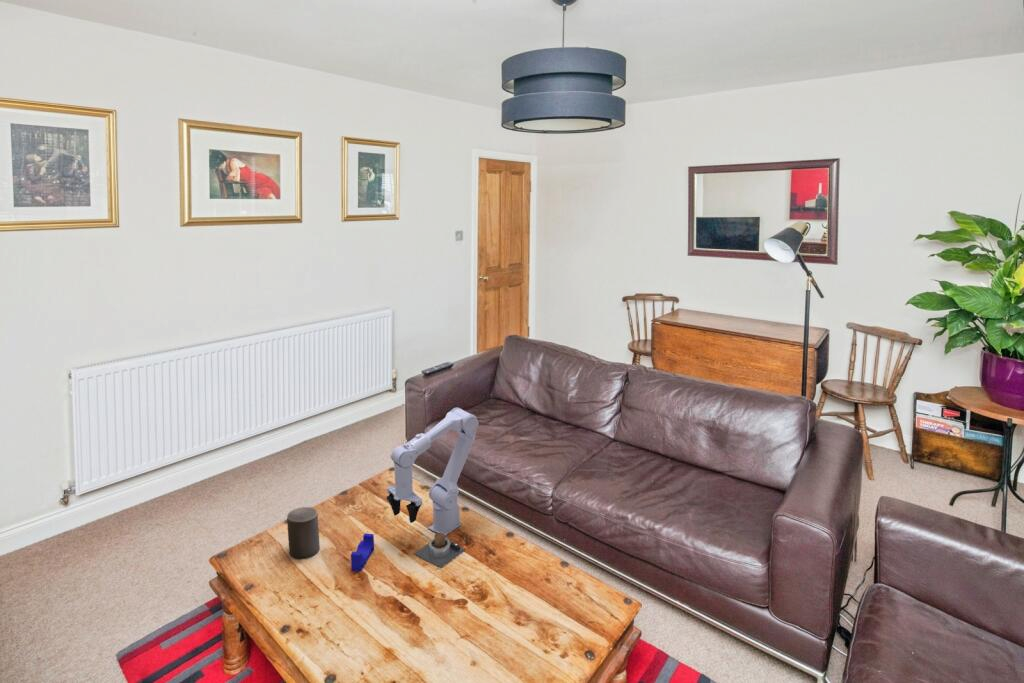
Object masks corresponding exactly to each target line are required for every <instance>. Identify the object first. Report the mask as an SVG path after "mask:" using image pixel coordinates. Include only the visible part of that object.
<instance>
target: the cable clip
mask: <svg viewBox="0 0 1024 683" xmlns="http://www.w3.org/2000/svg"><path fill="white" fill-rule="evenodd" d="M374 535H375V534H374V533H364V534H363V536H362V538H363V540H360V542H358V545H357V549H356V551H352V552H351V554H350V562H351V564H350V566H351V571H353V572H354V571H355V572H362V570H363V568H364V567H365V565H366V563H367V562H368V560H369V559H370V557H371V555H372V554H373V552H374V551H375V537H374Z"/></svg>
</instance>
